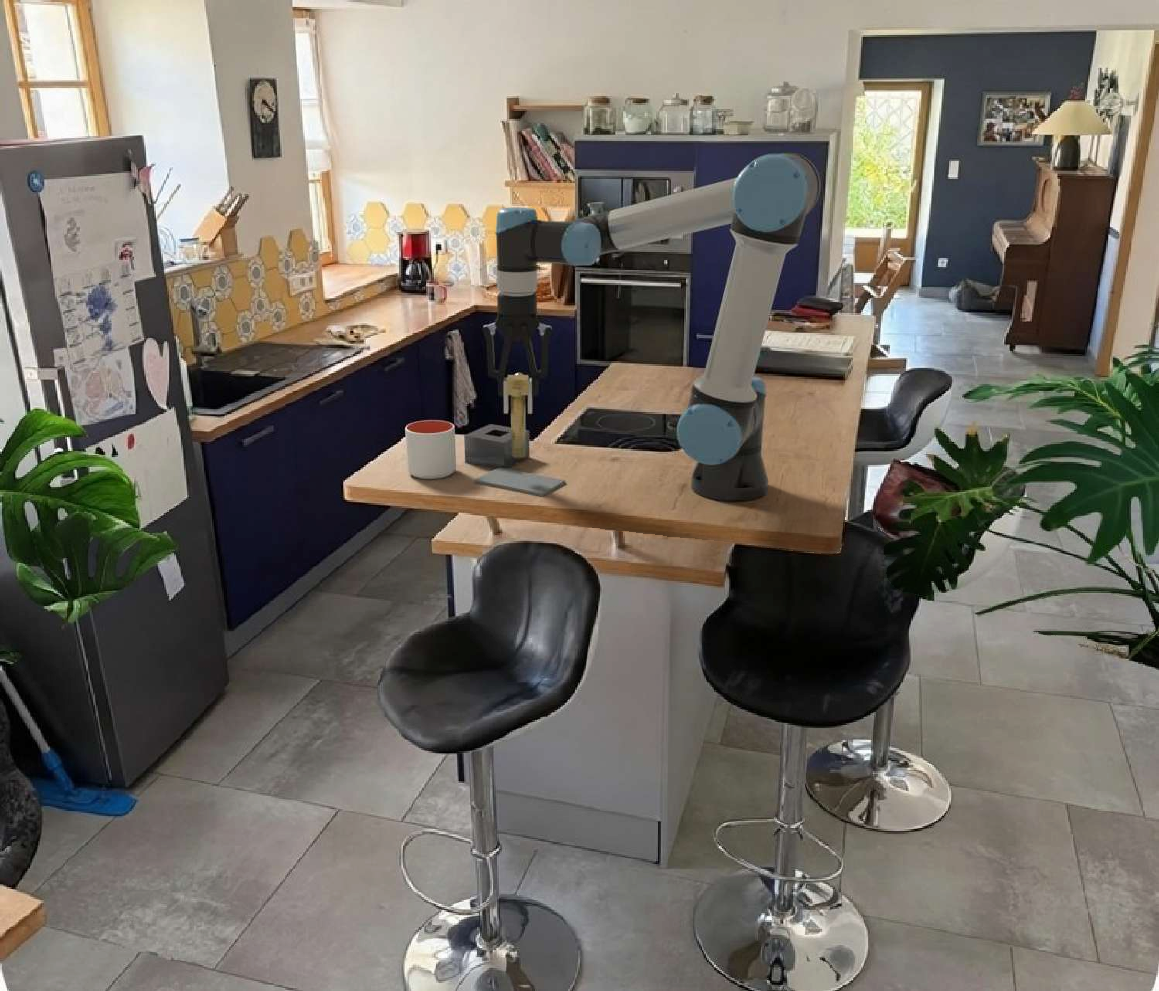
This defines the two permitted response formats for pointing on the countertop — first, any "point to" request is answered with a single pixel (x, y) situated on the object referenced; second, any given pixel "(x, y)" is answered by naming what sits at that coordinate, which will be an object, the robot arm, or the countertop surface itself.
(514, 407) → the brass ball-end t-bar
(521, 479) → the mat
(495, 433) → the block
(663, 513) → the countertop surface
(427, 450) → the cup
